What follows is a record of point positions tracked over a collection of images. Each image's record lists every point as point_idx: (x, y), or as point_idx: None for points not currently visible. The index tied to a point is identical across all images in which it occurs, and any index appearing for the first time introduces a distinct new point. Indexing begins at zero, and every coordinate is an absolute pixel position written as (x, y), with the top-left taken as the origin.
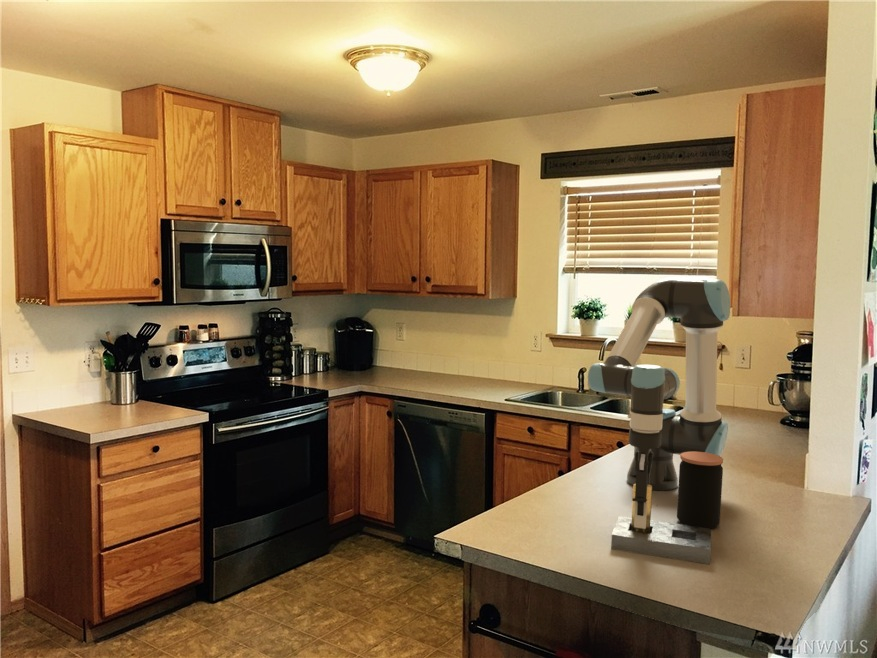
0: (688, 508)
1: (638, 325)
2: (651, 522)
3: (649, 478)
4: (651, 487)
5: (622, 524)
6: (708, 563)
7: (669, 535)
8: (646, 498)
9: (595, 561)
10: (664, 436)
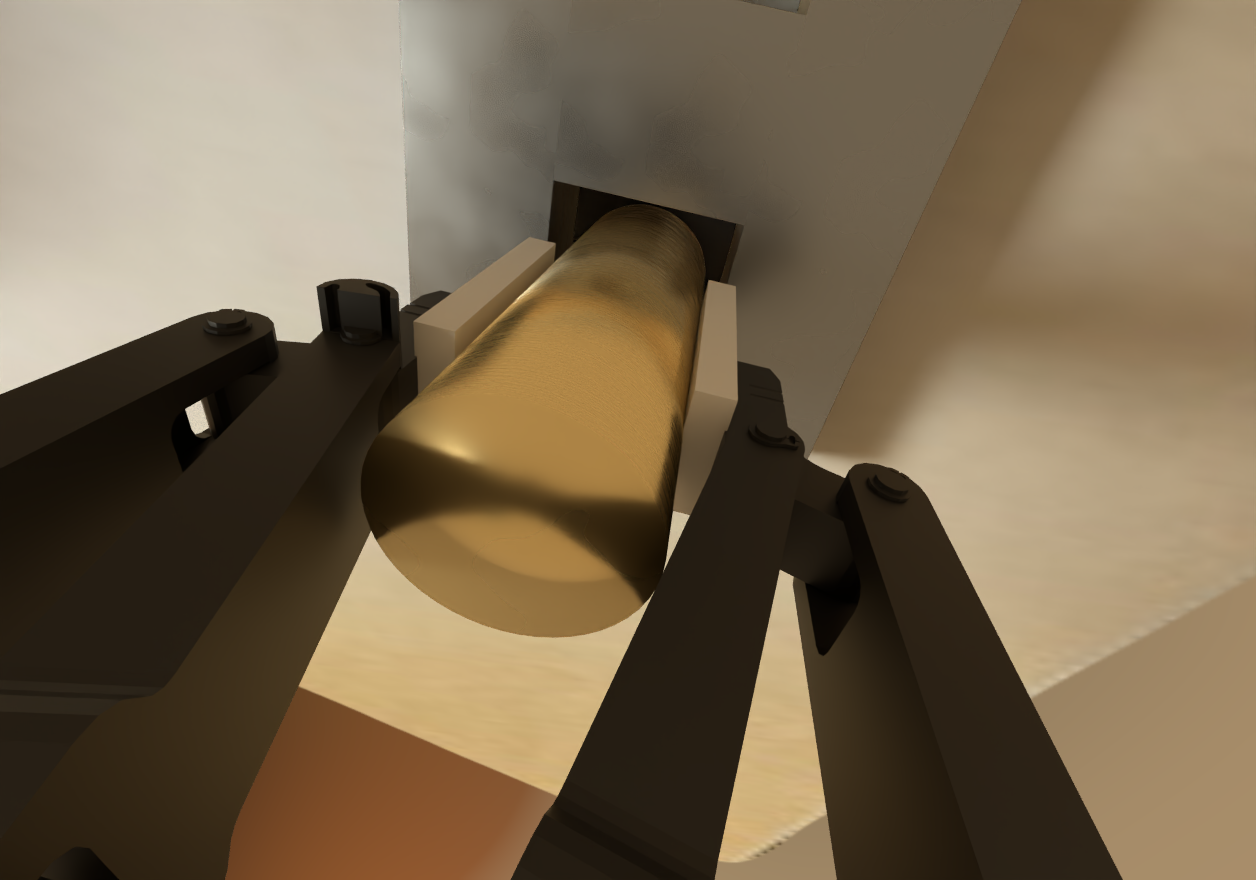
0: None
1: None
2: (458, 179)
3: (114, 404)
4: (554, 418)
5: None
6: None
7: (767, 34)
8: (733, 435)
9: (962, 541)
10: None
